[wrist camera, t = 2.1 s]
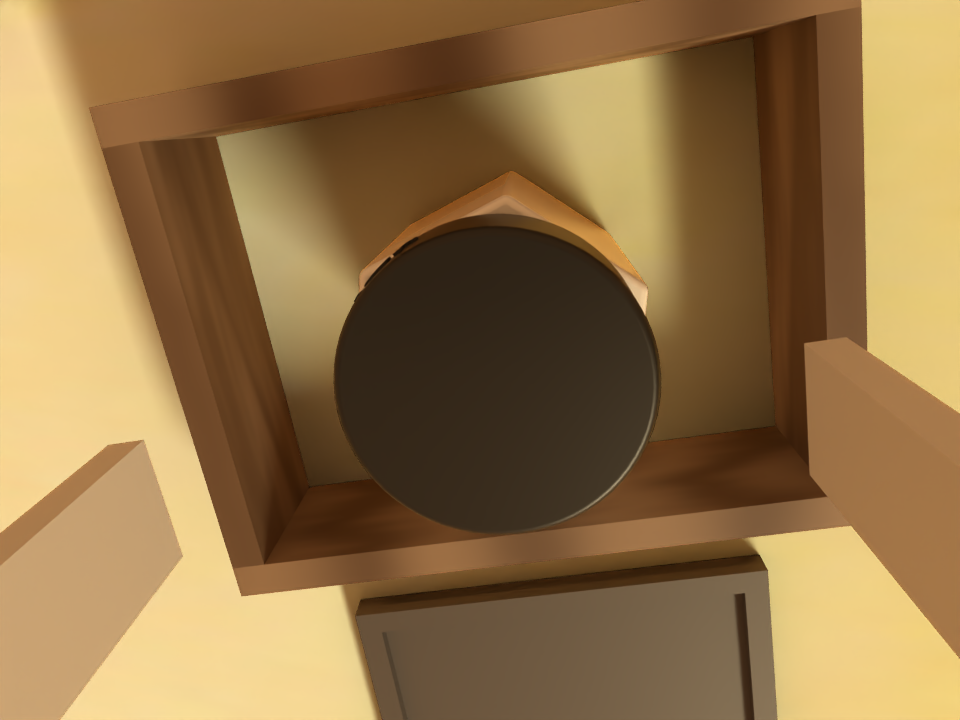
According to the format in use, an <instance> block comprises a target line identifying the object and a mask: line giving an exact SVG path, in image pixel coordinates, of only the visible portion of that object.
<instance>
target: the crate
mask: <svg viewBox="0 0 960 720" xmlns="http://www.w3.org/2000/svg"><path fill="white" fill-rule="evenodd" d="M749 37H753V40H754V57H755V75H756V92H757V110H758V127H759V145H760V162H761V179H762V197H763V214H764V232H765V249H766V267H767V284H768V302H769V319H770V337H771V354H772V372H773V389H774V406H775V424H776V426H771V427H764V428H756V429H749V430H741V431H733V432H726V433H718V434H710V435H703V436H695V437H688V438H680V439H672V440H665V441H657V442H649V443H648V444H647V446H646V448H645V450H644V452H643V454H642V456H641V457H640V459H639V460H638V462H637V464H636V465H635V467H634V468H633V470H632V471H631V472H630V473H629V474H628V476H627V477H626V478H625V479H624V481H623V482H622V483H621V484H620V485H619V486H618V487H617V488H616V489H615V490H614V491H613V492H612V493H610V494H609V495H608V496H607V497H606V498H605V499H603V500H602V501H601V502H599V503H598V504H596V505H595V506H594V507H592V508H591V509H589V510H587V511H586V512H584V513H582V514H580V515H579V516H577V517H575V518H572V519H570V520H568V521H566V522H563V523H561V524H558V525H555V526H552V527H549V528H546V529H542V530H537V531H533V532H527V533H520V534H508V535H491V534H480V533H472V532H467V531H462V530H457V529H454V528H450V527H447V526H444V525H441V524H438V523H436V522H433V521H431V520H428V519H426V518H424V517H422V516H420V515H418V514H416V513H415V512H413V511H411V510H410V509H408V508H406V507H405V506H403V505H402V504H400V503H399V502H398V501H396V500H395V499H394V498H392V497H391V496H390V495H389V494H388V493H387V492H385V491H384V490H383V489H382V488H381V487H380V486H379V485H378V484H377V483H376V482H375V481H374V480H373V479H367V480H359V481H352V482H344V483H337V484H329V485H321V486H314V487H309V484H308V480H307V476H306V473H305V469H304V465H303V461H302V458H301V454H300V450H299V446H298V443H297V439H296V435H295V431H294V428H293V424H292V420H291V416H290V413H289V409H288V405H287V401H286V398H285V394H284V390H283V386H282V383H281V379H280V375H279V371H278V368H277V364H276V360H275V356H274V353H273V349H272V345H271V341H270V338H269V334H268V330H267V326H266V323H265V319H264V315H263V311H262V308H261V304H260V300H259V296H258V293H257V289H256V285H255V281H254V278H253V274H252V270H251V266H250V263H249V259H248V255H247V251H246V248H245V244H244V240H243V236H242V233H241V229H240V225H239V221H238V218H237V214H236V210H235V206H234V203H233V199H232V195H231V191H230V188H229V184H228V180H227V176H226V173H225V169H224V165H223V161H222V158H221V154H220V150H219V146H218V143H217V139H216V136H221V135H227V134H232V133H238V132H243V131H248V130H254V129H259V128H265V127H270V126H275V125H281V124H286V123H291V122H297V121H302V120H308V119H313V118H318V117H324V116H329V115H335V114H340V113H345V112H351V111H356V110H361V109H367V108H372V107H378V106H383V105H388V104H394V103H399V102H405V101H410V100H415V99H421V98H426V97H431V96H437V95H442V94H448V93H453V92H458V91H464V90H469V89H475V88H480V87H485V86H491V85H496V84H501V83H507V82H512V81H518V80H523V79H528V78H534V77H539V76H544V75H550V74H555V73H561V72H566V71H571V70H577V69H582V68H588V67H593V66H598V65H604V64H609V63H614V62H620V61H625V60H631V59H636V58H641V57H647V56H652V55H658V54H663V53H668V52H674V51H679V50H684V49H690V48H695V47H701V46H706V45H711V44H717V43H722V42H728V41H733V40H738V39H744V38H749ZM89 109H90V112H91V116H92V119H93V122H94V125H95V128H96V132H97V135H98V138H99V141H100V144H101V148H102V151H103V154H104V157H105V160H106V164H107V167H108V170H109V173H110V176H111V180H112V183H113V186H114V189H115V192H116V196H117V199H118V202H119V205H120V208H121V212H122V215H123V218H124V221H125V224H126V228H127V231H128V234H129V237H130V240H131V244H132V247H133V250H134V253H135V256H136V260H137V263H138V266H139V269H140V273H141V276H142V279H143V282H144V285H145V289H146V292H147V295H148V298H149V301H150V305H151V308H152V311H153V314H154V317H155V321H156V324H157V327H158V330H159V333H160V337H161V340H162V343H163V346H164V349H165V353H166V356H167V359H168V362H169V365H170V369H171V372H172V375H173V378H174V381H175V385H176V388H177V391H178V394H179V397H180V401H181V404H182V407H183V410H184V413H185V417H186V420H187V423H188V426H189V429H190V433H191V436H192V439H193V442H194V445H195V449H196V452H197V455H198V458H199V461H200V465H201V468H202V471H203V474H204V477H205V481H206V484H207V487H208V490H209V493H210V497H211V500H212V503H213V506H214V510H215V513H216V516H217V519H218V522H219V526H220V529H221V532H222V535H223V538H224V542H225V545H226V548H227V551H228V554H229V558H230V561H231V564H232V567H233V570H234V574H235V577H236V580H237V583H238V586H239V590H240V593H241V596H248V595H257V594H265V593H274V592H283V591H291V590H300V589H308V588H317V587H326V586H334V585H343V584H352V583H360V582H369V581H377V580H386V579H395V578H403V577H412V576H421V575H429V574H438V573H446V572H455V571H464V570H472V569H481V568H490V567H498V566H507V565H515V564H524V563H533V562H541V561H550V560H559V559H567V558H576V557H584V556H593V555H602V554H610V553H619V552H627V551H636V550H645V549H653V548H662V547H671V546H679V545H688V544H696V543H705V542H714V541H722V540H731V539H740V538H748V537H757V536H765V535H774V534H783V533H791V532H800V531H809V530H817V529H826V528H834V527H843V526H851V525H850V524H849V522H848V521H847V520H846V519H845V517H844V516H843V515H842V514H841V513H840V511H839V510H838V509H837V508H836V506H835V505H834V504H833V503H832V502H831V500H830V499H829V498H828V497H827V495H826V494H825V493H824V492H823V491H822V489H821V488H820V487H819V486H818V484H817V483H816V482H815V481H814V480H813V478H812V477H811V476H810V472H809V448H808V424H807V400H806V376H805V352H804V343H810V342H817V341H824V340H830V339H837V338H844V337H847V338H848V339H850V340H851V341H853V342H854V343H856V344H857V345H859V346H860V347H862V348H863V349H865V350H866V351H867V309H866V250H865V191H864V132H863V73H862V14H861V0H643V1H638V2H633V3H628V4H622V5H617V6H612V7H607V8H602V9H597V10H591V11H586V12H581V13H576V14H571V15H566V16H560V17H555V18H550V19H545V20H540V21H535V22H530V23H524V24H519V25H514V26H509V27H504V28H499V29H493V30H488V31H483V32H478V33H473V34H468V35H462V36H457V37H452V38H447V39H442V40H437V41H431V42H426V43H421V44H416V45H411V46H406V47H400V48H395V49H390V50H385V51H380V52H375V53H370V54H364V55H359V56H354V57H349V58H344V59H339V60H333V61H328V62H323V63H318V64H313V65H308V66H302V67H297V68H292V69H287V70H282V71H277V72H271V73H266V74H261V75H256V76H251V77H246V78H241V79H235V80H230V81H225V82H220V83H215V84H210V85H204V86H199V87H194V88H189V89H184V90H179V91H173V92H168V93H163V94H158V95H153V96H148V97H142V98H137V99H132V100H127V101H122V102H117V103H111V104H106V105H101V106H96V107H91V108H89Z"/></svg>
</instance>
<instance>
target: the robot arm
mask: <svg viewBox="0 0 960 720" xmlns="http://www.w3.org/2000/svg"><path fill="white" fill-rule="evenodd" d="M804 352H805V376H806V400H807V424H808V448H809V472H810V476H811V477H812V478H813V480H814V481H815V482H816V483H817V484H818V486H819V487H820V488H821V489H822V491H823V492H824V493H825V494H826V495H827V497H828V498H829V499H830V500H831V502H832V503H833V504H834V505H835V506H836V508H837V509H838V510H839V511H840V513H841V514H842V515H843V516H844V517H845V519H846V520H847V521H848V522H849V524H850V525H851V526H852V527H853V529H854V530H855V531H856V532H857V533H858V535H859V536H860V537H861V538H862V540H863V541H864V542H865V543H866V544H867V546H868V547H869V548H870V549H871V551H872V552H873V553H874V554H875V555H876V557H877V558H878V559H879V560H880V562H881V563H882V564H883V565H884V566H885V568H886V569H887V570H888V571H889V573H890V574H891V575H892V576H893V578H894V579H895V580H896V581H897V582H898V584H899V585H900V586H901V587H902V589H903V590H904V591H905V592H906V593H907V595H908V596H909V597H910V598H911V600H912V601H913V602H914V603H915V604H916V606H917V607H918V608H919V609H920V611H921V612H922V613H923V614H924V616H925V617H926V618H927V619H928V620H929V622H930V623H931V624H932V625H933V627H934V628H935V629H936V630H937V631H938V633H939V634H940V635H941V636H942V638H943V639H944V640H945V641H946V642H947V644H948V645H949V646H950V647H951V649H952V650H953V651H954V652H955V653H956V655H957V656H958V657H959V658H960V413H958V412H957V411H955V410H954V409H952V408H951V407H949V406H948V405H946V404H945V403H943V402H942V401H940V400H939V399H937V398H936V397H934V396H933V395H931V394H930V393H928V392H927V391H925V390H924V389H922V388H921V387H919V386H918V385H917V384H915V383H914V382H912V381H911V380H909V379H908V378H906V377H905V376H903V375H902V374H900V373H899V372H897V371H896V370H894V369H893V368H891V367H890V366H888V365H887V364H885V363H884V362H882V361H881V360H879V359H878V358H876V357H875V356H873V355H872V354H871V353H869V352H868V351H866V350H865V349H863V348H862V347H860V346H859V345H857V344H856V343H854V342H853V341H851V340H850V339H848V338H847V337H844V338H837V339H830V340H824V341H817V342H810V343H804ZM182 557H183V555H182V552H181V549H180V546H179V543H178V540H177V537H176V534H175V531H174V528H173V525H172V522H171V519H170V516H169V514H168V511H167V508H166V505H165V502H164V499H163V496H162V493H161V490H160V487H159V484H158V481H157V478H156V475H155V472H154V469H153V466H152V463H151V460H150V457H149V454H148V451H147V448H146V445H145V442H144V440H140V441H133V442H126V443H119V444H112V445H108V446H107V447H105V448H104V449H103V450H102V451H101V452H99V453H98V454H97V455H96V456H94V457H93V458H92V459H91V460H90V461H88V462H87V463H86V464H85V465H83V466H82V467H81V468H80V469H78V470H77V471H76V472H75V473H74V474H72V475H71V476H70V477H69V478H67V479H66V480H65V481H64V482H63V483H61V484H60V485H59V486H58V487H56V488H55V489H54V490H53V491H51V492H50V493H49V494H48V495H47V496H45V497H44V498H43V499H42V500H40V501H39V502H38V503H37V504H36V505H34V506H33V507H32V508H31V509H29V510H28V511H27V512H26V513H24V514H23V515H22V516H21V517H20V518H18V519H17V520H16V521H15V522H13V523H12V524H11V525H10V526H9V527H7V528H6V529H5V530H4V531H2V532H1V533H0V720H60V719H61V718H62V717H63V715H64V714H65V713H66V711H67V710H68V709H69V707H70V706H71V705H72V703H73V702H74V701H75V699H76V698H77V697H78V695H79V694H80V693H81V691H82V690H83V689H84V687H85V686H86V685H87V683H88V682H89V681H90V679H91V678H92V677H93V675H94V674H95V673H96V671H97V670H98V669H99V667H100V666H101V665H102V663H103V662H104V661H105V659H106V658H107V657H108V655H109V654H110V653H111V651H112V650H113V649H114V647H115V646H116V645H117V643H118V642H119V641H120V639H121V638H122V637H123V635H124V634H125V633H126V631H127V630H128V629H129V627H130V626H131V625H132V623H133V622H134V621H135V619H136V618H137V617H138V615H139V614H140V613H141V611H142V610H143V609H144V607H145V606H146V605H147V603H148V602H149V601H150V599H151V598H152V597H153V595H154V594H155V593H156V591H157V590H158V589H159V587H160V586H161V585H162V583H163V582H164V581H165V579H166V578H167V577H168V575H169V574H170V573H171V571H172V570H173V569H174V567H175V566H176V565H177V563H178V562H179V561H180V559H181V558H182Z"/></svg>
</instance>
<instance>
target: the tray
mask: <svg viewBox="0 0 960 720" xmlns="http://www.w3.org/2000/svg"><path fill="white" fill-rule="evenodd" d="M355 617H356V621H357V625H358V628H359V632H360V636H361V640H362V644H363V648H364V651H365V655H366V659H367V663H368V667H369V671H370V674H371V678H372V682H373V686H374V690H375V693H376V697H377V701H378V705H379V709H380V713H381V716H382V720H777V705H776V690H775V674H774V659H773V643H772V628H771V613H770V597H769V582H768V570H767V568H766V566H765V564H764V562H763V561H762V559H761V557H760V555H751V556H742V557H733V558H724V559H716V560H707V561H698V562H689V563H680V564H671V565H663V566H654V567H645V568H636V569H627V570H619V571H610V572H601V573H592V574H583V575H574V576H566V577H557V578H548V579H539V580H530V581H522V582H513V583H504V584H495V585H486V586H477V587H469V588H460V589H451V590H442V591H433V592H425V593H416V594H407V595H398V596H389V597H381V598H372V599H363V600H361V601H360V604H359V607H358V610H357V613H356V616H355Z"/></svg>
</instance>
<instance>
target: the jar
mask: <svg viewBox="0 0 960 720" xmlns="http://www.w3.org/2000/svg"><path fill="white" fill-rule="evenodd" d="M647 297H648V287H647V285H646V284H645V282H644V281H643V280H642V278H641V277H640V275H639V274H638V273H637V271H636V270H635V268H634V267H633V266H632V264H631V263H630V261H629V260H628V259H627V257H626V256H625V254H624V253H623V252H622V250H621V249H620V247H619V246H618V245H617V243H616V242H615V241H614V239H613V238H612V236H611V235H610V234H609V233H608V232H606V231H605V230H603V229H602V228H600V227H599V226H597V225H596V224H594V223H593V222H591V221H590V220H588V219H587V218H585V217H584V216H582V215H581V214H579V213H577V212H576V211H574V210H573V209H571V208H570V207H568V206H567V205H565V204H564V203H562V202H561V201H559V200H558V199H556V198H555V197H553V196H552V195H550V194H548V193H547V192H545V191H544V190H542V189H541V188H539V187H538V186H536V185H535V184H533V183H532V182H530V181H529V180H527V179H526V178H524V177H523V176H521V175H519V174H518V173H516V172H514V171H510V172H507V173H505V174H504V175H502V176H500V177H498V178H496V179H494V180H492V181H491V182H489V183H487V184H485V185H483V186H481V187H479V188H477V189H476V190H474V191H472V192H470V193H468V194H466V195H464V196H463V197H461V198H459V199H457V200H455V201H453V202H451V203H450V204H448V205H446V206H444V207H442V208H440V209H438V210H437V211H435V212H433V213H431V214H429V215H427V216H425V217H423V218H422V219H420V220H418V221H416V222H414V223H412V224H411V225H410V226H408V227H407V228H406V229H405V230H404V231H403V232H402V233H401V234H400V235H399V236H398V237H397V238H396V239H395V240H394V241H393V242H392V243H390V244H389V245H388V246H387V247H386V248H385V249H384V250H383V251H382V252H381V253H380V254H379V255H378V256H377V257H376V258H375V259H374V260H373V261H371V262H370V263H369V264H368V265H367V266H366V267H365V268H364V269H363V270H362V271H361V273H360V275H359V294H358V295H357V297H356V299H355V300H354V302H355V303H354V304H353V306H352V308H351V310H350V312H349V314H348V316H347V318H346V320H345V323H344V325H343V328H342V331H341V334H340V337H339V341H338V345H337V349H336V355H335V363H334V394H335V401H336V407H337V412H338V416H339V419H340V423H341V426H342V429H343V431H344V434H345V436H346V439H347V441H348V443H349V445H350V447H351V449H352V451H353V452H354V454H355V456H356V457H357V459H358V460H359V462H360V463H361V465H362V466H363V468H364V469H365V470H366V471H367V473H368V474H369V475H370V476H371V478H372V479H373V480H374V481H375V482H376V483H377V484H378V485H379V486H380V487H381V488H382V489H383V490H384V491H385V492H387V493H388V494H389V495H390V496H391V497H392V498H394V499H395V500H396V501H398V502H399V503H400V504H402V505H403V506H405V507H406V508H408V509H410V510H411V511H413V512H415V513H416V514H418V515H420V516H422V517H424V518H426V519H428V520H431V521H433V522H436V523H438V524H441V525H444V526H447V527H450V528H454V529H457V530H462V531H467V532H472V533H480V534H491V535H508V534H520V533H527V532H533V531H537V530H542V529H546V528H549V527H552V526H555V525H558V524H561V523H563V522H566V521H568V520H570V519H572V518H575V517H577V516H579V515H580V514H582V513H584V512H586V511H587V510H589V509H591V508H592V507H594V506H595V505H596V504H598V503H599V502H601V501H602V500H603V499H605V498H606V497H607V496H608V495H609V494H610V493H612V492H613V491H614V490H615V489H616V488H617V487H618V486H619V485H620V484H621V483H622V482H623V481H624V479H625V478H626V477H627V476H628V474H629V473H630V472H631V471H632V470H633V468H634V467H635V465H636V464H637V462H638V460H639V459H640V457H641V456H642V454H643V452H644V450H645V448H646V446H647V444H648V442H649V439H650V437H651V434H652V432H653V429H654V426H655V422H656V419H657V415H658V410H659V404H660V396H661V369H660V360H659V354H658V349H657V345H656V341H655V338H654V335H653V332H652V329H651V327H650V325H649V322H648V320H647V318H646V316H645V315H646V306H647Z"/></svg>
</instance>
